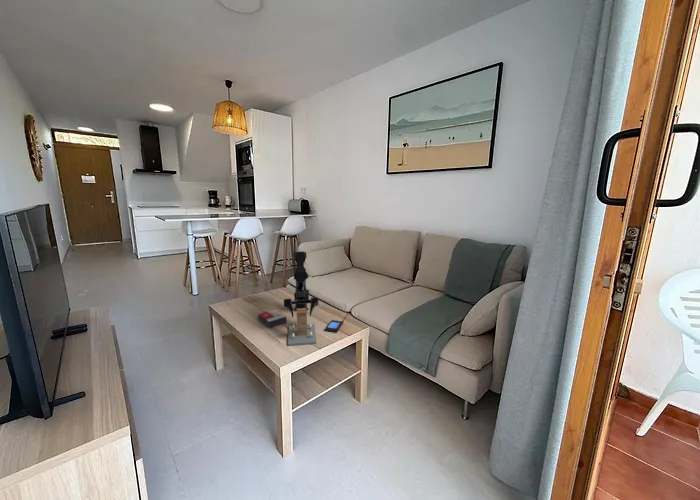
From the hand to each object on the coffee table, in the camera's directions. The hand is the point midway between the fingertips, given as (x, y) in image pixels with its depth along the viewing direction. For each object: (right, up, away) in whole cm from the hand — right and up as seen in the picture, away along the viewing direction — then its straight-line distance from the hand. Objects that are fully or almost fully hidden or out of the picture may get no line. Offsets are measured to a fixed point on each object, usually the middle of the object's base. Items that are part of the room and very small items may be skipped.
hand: (301, 317), depth 156 cm
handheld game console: (+19, -8, +7) cm, 21 cm away
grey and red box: (-20, -6, +14) cm, 25 cm away
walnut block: (+1, -8, -3) cm, 8 cm away
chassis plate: (+1, -9, -3) cm, 9 cm away
